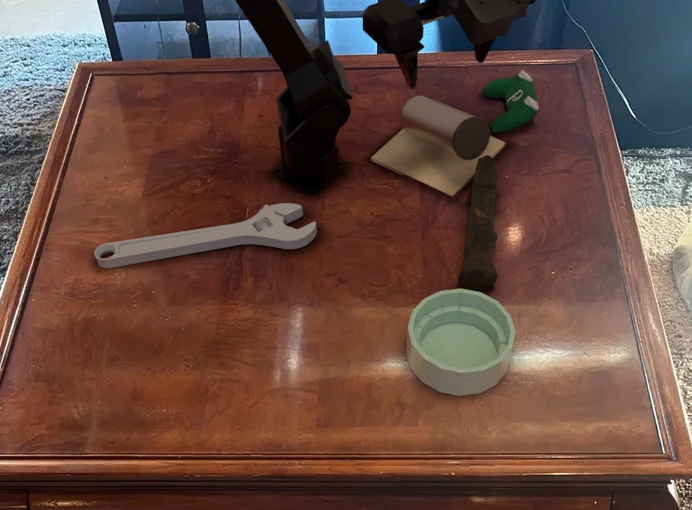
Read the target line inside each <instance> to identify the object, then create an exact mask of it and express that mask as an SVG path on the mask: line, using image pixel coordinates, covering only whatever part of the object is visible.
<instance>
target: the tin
mask: <svg viewBox="0 0 692 510" xmlns="http://www.w3.org/2000/svg"><path fill="white" fill-rule="evenodd" d="M400 123H401V126H402V129H403V128H404V129H405V131H407V132H408V133H410V134H412V135H414V136H416V137H418V138H420V139H422V140H424V141H427V142H429V143H431V144H433V145H435V146H437V147H439V148H441V149H443V150H446V151H448V152H450V153H452V154H454V155H456V156H458V157H460V158H461V159H464V160H473V159H475V158H477V157H479V156H480V155H481V154H482V153H483V152H484V151H485V149H486V148H487V146H488V143H489V140H490V136H491V128H490V125H489V124H488V122H487V121H486V120H485V119H483V118H482V117H479V116H476V115H473V114H471V113H468V112H465V111H464V110H460V109H458V108H455V107H453V106H450V105H448V104H445V103H443V102H440V101H438V100H435V99H432V98H430V97H427V96H425V95H417V96H413V97H412V98H410V99H409V100H408V101H406V103H405V104H404V106H403V108H402V110H401V115H400Z"/></svg>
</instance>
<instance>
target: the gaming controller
mask: <svg viewBox="0 0 692 510" xmlns="http://www.w3.org/2000/svg"><path fill="white" fill-rule="evenodd" d="M483 94H484V96H485V97H487V98H490V99H499V98H500V99H501V98H504V100H505V104H506V110H507V111H506V112H503V113H502V114H500V115H498V116H497V117H496V118H494V120H492V121H491V123H490V124H489V129H490V131H491V132H492V133H493V134H498V133H503V132H507V131H511V130H514V129H516V128H518V127H520V126H523V125H525V124H527V123H528V122H531V121H533V119H534V117H535V116H536V115H537V114H538V113H539V110H540V109H539V103H538V97H537V92H536V89H535V86H534V83H533V78H532V77H531V75H529V73H527V72H526V71H525V70H523V69H521V71H520V72H519V73H517V74H515V75H513V76H506V77H501V78H497V79H494V80H492V81H490V82H487V84H486V85H485V86H484V88H483Z"/></svg>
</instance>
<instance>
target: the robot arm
mask: <svg viewBox="0 0 692 510" xmlns="http://www.w3.org/2000/svg"><path fill="white" fill-rule="evenodd" d="M234 1H235V3H236V4H237V5H238V7H239V9H240V10H241V12H242V13H243V15H244V16H245V17H246V20H247V21H248V22H249V24H250V25H251V27H252V28H253V30H254V31H255V33H256V34H257V36H258V37H259V39H260V40H261V42H262V44H263V45H264V47H265V48H266V49H267V51H268V53H269V54H270V55H271V57H272V58H273V60H274V62H275V63H276V65H277V66H278V68H279V69H280V71H281V73H282V75H283V77H284V80H285V83H286V86H287V87H286V88H285V89H283V91H282V92H280V94H279V95H278V96H277V97H276V105H277V110H278V116H279V121H280V125H279V126H278V127H277V131H278V132H277V133H278V141H279V150H280V158H281V164H280V165H278V166H277V167H276V168H275V169H274V170H273V175H274V177H277V178H278V179H281V180H283V181H284V182H287V183H288V184H290V185H292V186H294V187H296V188H298V189H299V190H302V191H304V192H305V193H308V194H310V195H315V194H317V193H318V192H319V191H320V190H321V189H323V188H324V187H325V186H326V185H327V184H328V183H330V182H331V181H332V180H333V179H334V178H335V177H336V176H338V175H339V174H340V173H341V172H342V171H343V170H344V169H345V167H346V165H345V162H344V161H342V160H340V159H339V146H338V145H336V139H337V136H338V133H339V130H340V129H341V128H342V127H344V125H345V124H347V122H348V120H349V118H350V116H351V114H352V109H351V104H350V102H349V101H350V100H352V99H353V95H352V91H351V88H350V84H349V81H348V77H347V74H346V71H345V67H344V64H343V62H342V61H340V60H339V59H338V58H336V56H335V55H334V53H333V50H332V47H331V44H330V41H329V40H328V39H326V41H324V42H323V43H321V44H320V45H318V46H317V45H316V44H314V43H313V42H311V41H310V40H309V39H308V38H307V37H306V35H305V33H304V32H303V30H302V28H301V27H300V25H299V23H298V21H297V20H296V18H295V17H294V15H293V13H292V11H291V10H290V7H288V5H287V3H286V2H285V0H234ZM536 1H537V0H424V1H423V2H420V3H417V4H414V5H411V6H409V5H408V4H406V2H404V1H403V0H381V1H379V2H376V3H373V4H370V5H368V6H366V8H365V9H364V10H363V13H362V31H363V32H364V33H365V34H366V35H367V36H368V37H370V39H372V40H373V42H375V43H376V44H377V45H378V46H379V47H380V48H381V49H382V50H383V51H384V52H385V53H387V54H389V55H393V56H394V58H395V60H396V61H397V65H398V67H399V69H400V71H401V73H402V75H403V78H404V81H405V83H406V85H407V86H408V87H409V88H410V89H411V90H415V89H416V86H417V81H418V62H419V61H418V60H419V59H418V57H419V53H420V52H421V51H422V50H423V49H424V48H425V45H424V44H423V43H422V42H421V41H422V39H423V38H424V26H426V25H428V24H430V23H433V22H437V21H439V20H441V19H444V18H447V17H450V16H453V18H454V19H455V21H456V22H457V23H458V25H459V26H460V27H461V29H462V31H463V32H464V34H465V37H466V39H467V40H468V41H469V42H470V43H471V44H473V49H474V58H475V60H476V61H477V63H479V64H482V63H484V62H485V60H486V58H487V56H488V55H489V52H490V50H491V48H492V46H493V45H494V43H495V41H496V39H497V38H499V37H504V36H506V35H507V34H508V33H509V32H510V29H511V27H512V25H513V24H514V22H515V21H517V20H519V19H522V18H524V17H527V15H528V14H527V10H528V8H529V6H530V5H533V4H535V3H536Z"/></svg>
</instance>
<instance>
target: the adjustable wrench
mask: <svg viewBox="0 0 692 510" xmlns="http://www.w3.org/2000/svg"><path fill="white" fill-rule="evenodd" d="M302 217H304V211H303V206H302V205H301V204H298V203H291V202H282V203H281V202H280V203H275V204H271V205H268V204H267V203H266V204H264V205H263V207H262V208H260V209H259V210H258V212H257V213H256V214H255V215H253V216H252V217H250V218H248V219H246V220H243V221H240V222H235V223H228V224H221V225H217V226H210V227H204V228H197V229H189V230H183V231H177V232H176V231H175V232H171V233H164V234H158V235H151V236H144V237H138V238H132V239H125V240H118V241H113V242H107V243H106V242H105V243H102V244H100V245H98V246H97V247H96V248H95V250H94V258H95V259H96V262H97V265H98V266H99V267H101V268H103V269H113V268H119V267H123V266H129V265H134V264H140V263H146V262H152V261H156V260H157V261H158V260H162V259H169V258H173V257H179V256H185V255H190V254H196V253H202V252H207V251H213V250H219V249H225V248H229V247H235V246H242V245H258V246H265V247H266V246H268V247H271V248H278V249H282V250H297V249H300V248H304V247H305V246H307V245H309V244H310V243H311V242H312V241H313V240H314V239H315V238H316V236H317V234H318V229H317V222H316V221H315V220H314V221H312V222H310V223H308V224H306V225H304V226H302V227H300V228H298V229H297V228H294V227H292V226H288V224H290V223H291V222H294V221H296V220H298V219H300V218H302ZM107 254H113V255H112V256H109V257H107V258H103V256H104V255H107Z"/></svg>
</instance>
